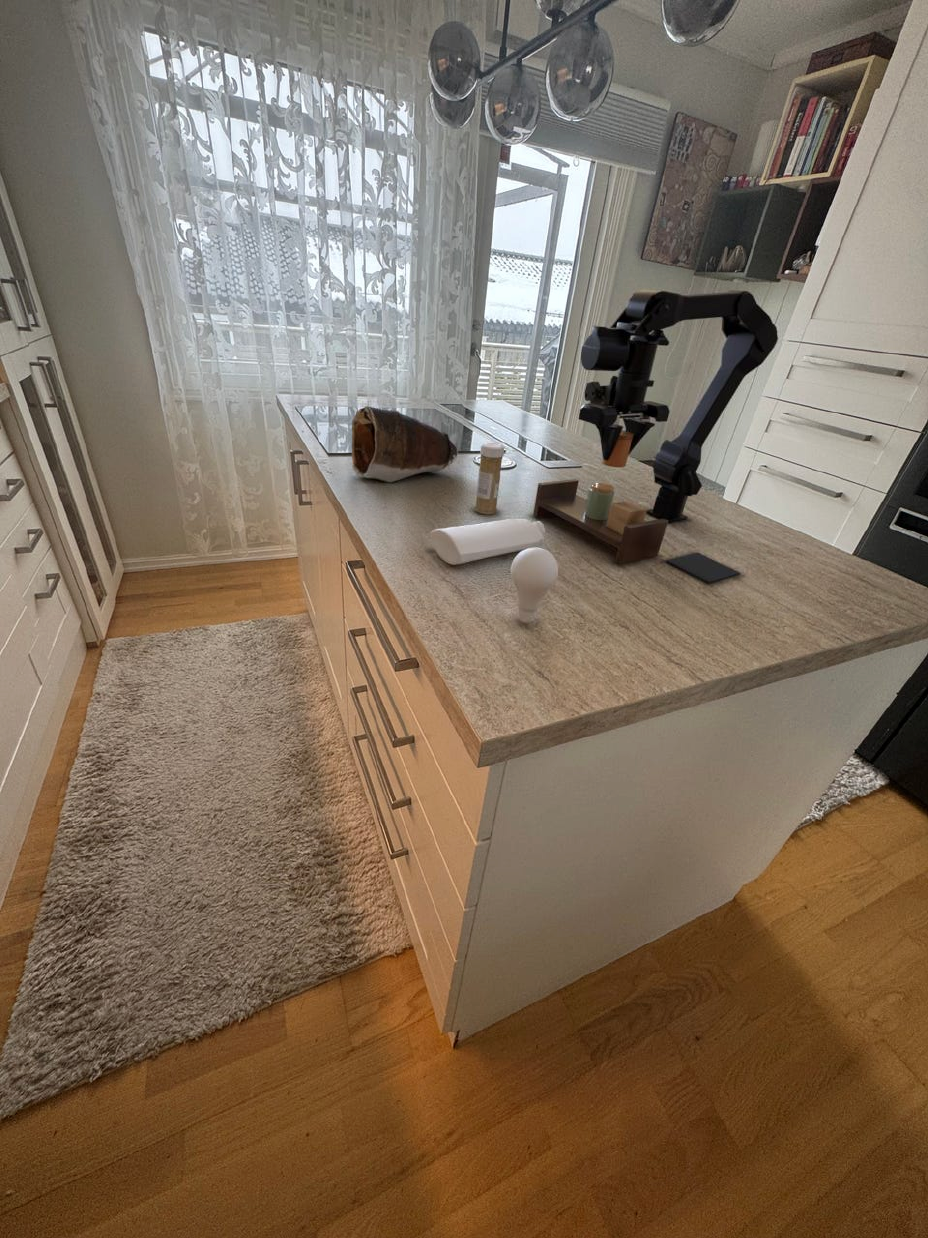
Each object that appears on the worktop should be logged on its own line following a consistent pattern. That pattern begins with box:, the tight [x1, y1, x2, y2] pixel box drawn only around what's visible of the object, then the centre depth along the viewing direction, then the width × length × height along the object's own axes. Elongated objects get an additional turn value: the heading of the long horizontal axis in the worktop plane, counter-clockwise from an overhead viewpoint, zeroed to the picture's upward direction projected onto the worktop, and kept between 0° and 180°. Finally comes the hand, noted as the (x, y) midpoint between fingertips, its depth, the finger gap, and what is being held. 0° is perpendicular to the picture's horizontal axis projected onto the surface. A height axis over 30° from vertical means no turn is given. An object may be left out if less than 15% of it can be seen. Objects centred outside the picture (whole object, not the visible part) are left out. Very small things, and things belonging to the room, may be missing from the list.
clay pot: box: [351, 406, 459, 484], centre depth 121 cm, size 15×15×25 cm
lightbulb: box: [510, 546, 559, 624], centre depth 68 cm, size 6×6×11 cm
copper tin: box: [600, 429, 634, 468], centre depth 101 cm, size 5×5×6 cm
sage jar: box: [584, 482, 615, 520], centre depth 97 cm, size 5×5×6 cm
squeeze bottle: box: [430, 518, 546, 566], centre depth 89 cm, size 10×20×5 cm, turn 122°
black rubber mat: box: [665, 552, 741, 585], centre depth 92 cm, size 9×9×1 cm
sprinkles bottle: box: [474, 442, 505, 515], centre depth 103 cm, size 5×5×13 cm
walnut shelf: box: [532, 478, 669, 566], centre depth 99 cm, size 10×24×7 cm, turn 32°
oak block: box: [606, 500, 648, 534], centre depth 93 cm, size 4×4×4 cm
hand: (614, 458), depth 102 cm, fingers closed on copper tin, 5 cm apart
